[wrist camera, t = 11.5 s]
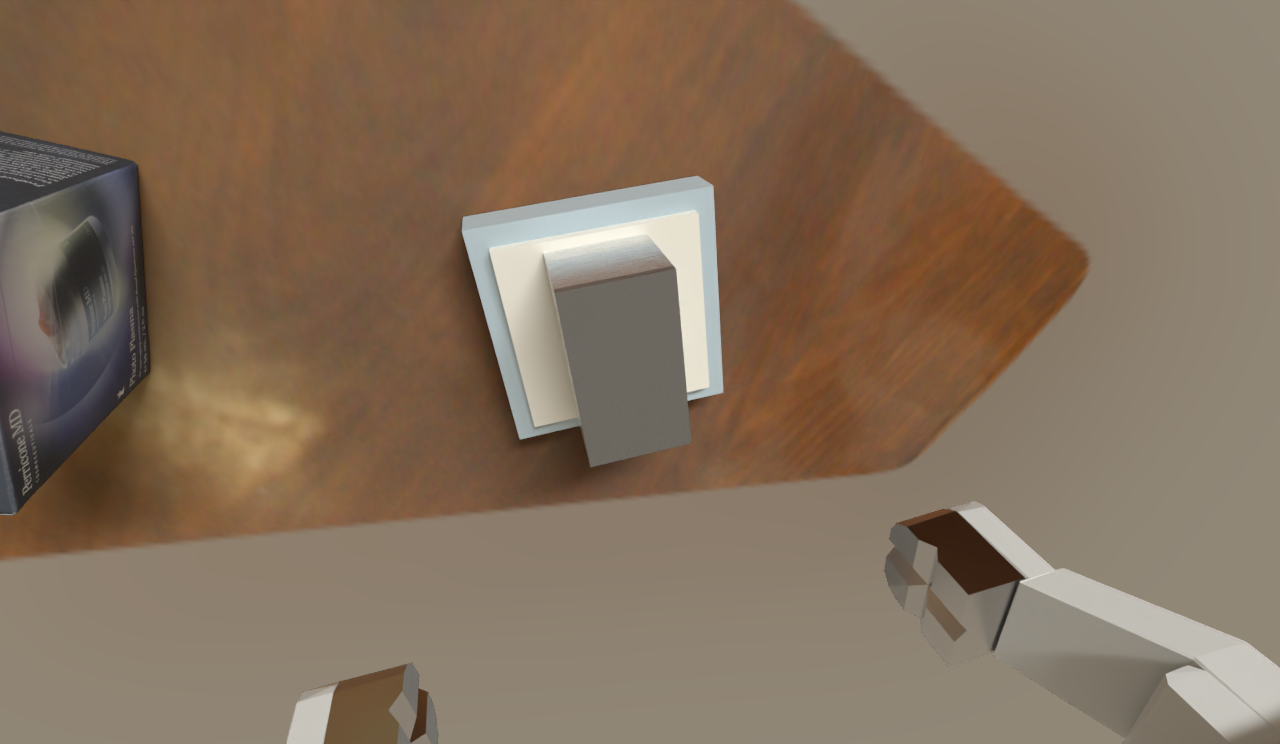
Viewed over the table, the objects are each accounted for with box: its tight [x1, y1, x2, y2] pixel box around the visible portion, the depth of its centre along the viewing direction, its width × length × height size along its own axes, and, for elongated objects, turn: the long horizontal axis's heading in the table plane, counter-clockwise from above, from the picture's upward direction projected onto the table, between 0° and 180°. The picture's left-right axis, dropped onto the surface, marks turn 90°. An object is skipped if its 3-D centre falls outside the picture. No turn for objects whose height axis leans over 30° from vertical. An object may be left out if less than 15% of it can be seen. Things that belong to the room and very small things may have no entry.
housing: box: [543, 234, 691, 467], centre depth 28 cm, size 9×5×5 cm, turn 7°
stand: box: [462, 176, 723, 439], centre depth 31 cm, size 12×12×3 cm
